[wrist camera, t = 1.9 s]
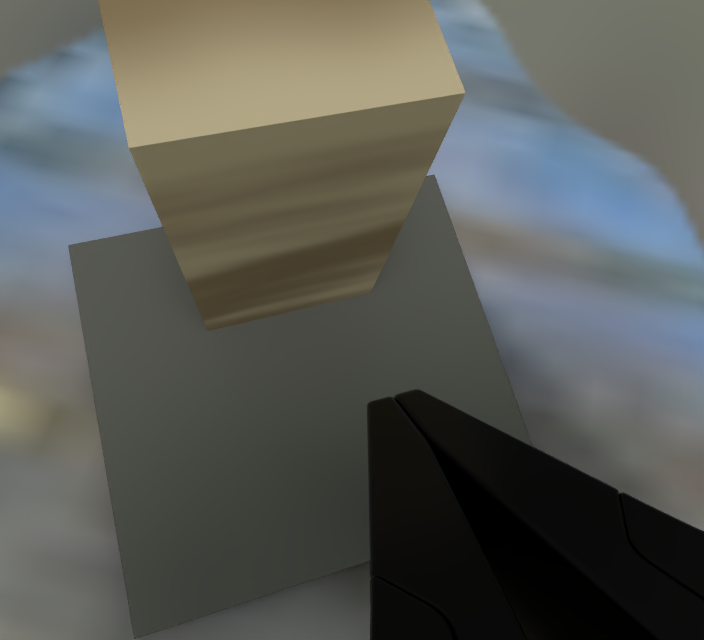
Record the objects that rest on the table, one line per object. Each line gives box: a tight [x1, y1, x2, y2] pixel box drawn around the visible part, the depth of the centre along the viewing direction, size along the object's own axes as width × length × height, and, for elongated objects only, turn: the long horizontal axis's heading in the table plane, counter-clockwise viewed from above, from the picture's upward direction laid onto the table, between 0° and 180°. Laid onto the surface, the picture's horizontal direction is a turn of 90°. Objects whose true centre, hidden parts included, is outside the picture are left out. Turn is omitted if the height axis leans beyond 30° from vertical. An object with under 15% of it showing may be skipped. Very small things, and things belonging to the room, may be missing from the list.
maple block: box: [98, 0, 465, 331], centre depth 15 cm, size 4×6×11 cm, turn 106°
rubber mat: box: [68, 175, 532, 639], centre depth 20 cm, size 13×14×1 cm
